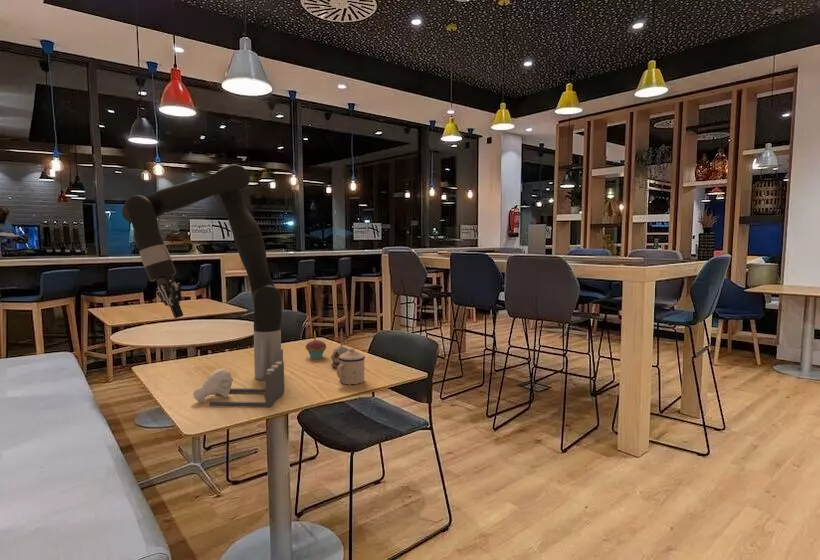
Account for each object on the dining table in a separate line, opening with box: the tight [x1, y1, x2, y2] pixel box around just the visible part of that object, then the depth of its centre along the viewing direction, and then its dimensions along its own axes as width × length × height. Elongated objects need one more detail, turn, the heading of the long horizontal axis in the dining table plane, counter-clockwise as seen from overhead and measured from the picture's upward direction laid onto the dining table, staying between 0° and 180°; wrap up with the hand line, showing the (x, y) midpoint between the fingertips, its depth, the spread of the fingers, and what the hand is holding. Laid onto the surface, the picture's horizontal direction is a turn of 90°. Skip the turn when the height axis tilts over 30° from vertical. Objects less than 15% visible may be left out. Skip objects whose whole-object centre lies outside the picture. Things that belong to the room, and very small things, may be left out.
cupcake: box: [305, 330, 327, 359], centre depth 193 cm, size 9×8×12 cm
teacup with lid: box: [336, 347, 366, 386], centre depth 160 cm, size 12×9×12 cm
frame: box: [208, 361, 285, 409], centre depth 143 cm, size 19×14×11 cm
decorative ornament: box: [330, 328, 350, 368], centre depth 180 cm, size 8×8×15 cm
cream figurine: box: [192, 368, 234, 404], centre depth 143 cm, size 6×8×12 cm
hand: (179, 317), depth 139 cm, fingers closed
